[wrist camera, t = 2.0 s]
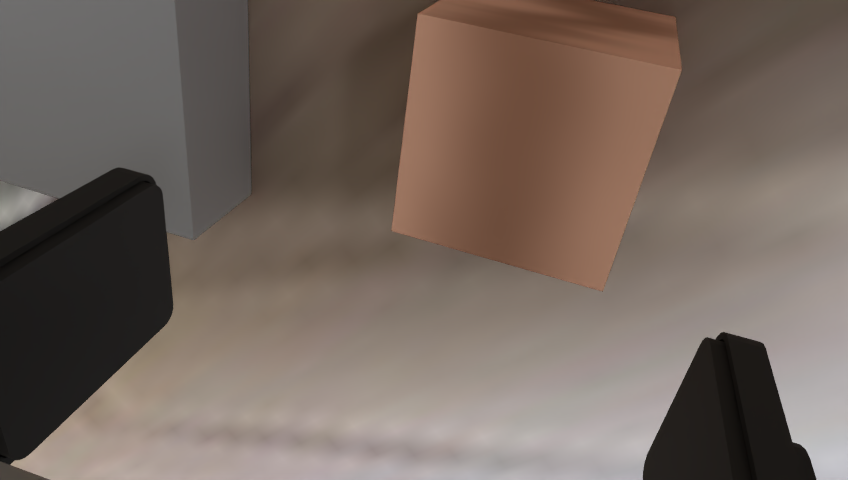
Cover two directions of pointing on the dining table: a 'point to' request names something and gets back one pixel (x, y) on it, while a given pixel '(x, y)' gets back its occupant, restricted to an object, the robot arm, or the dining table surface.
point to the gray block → (129, 99)
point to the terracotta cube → (533, 129)
